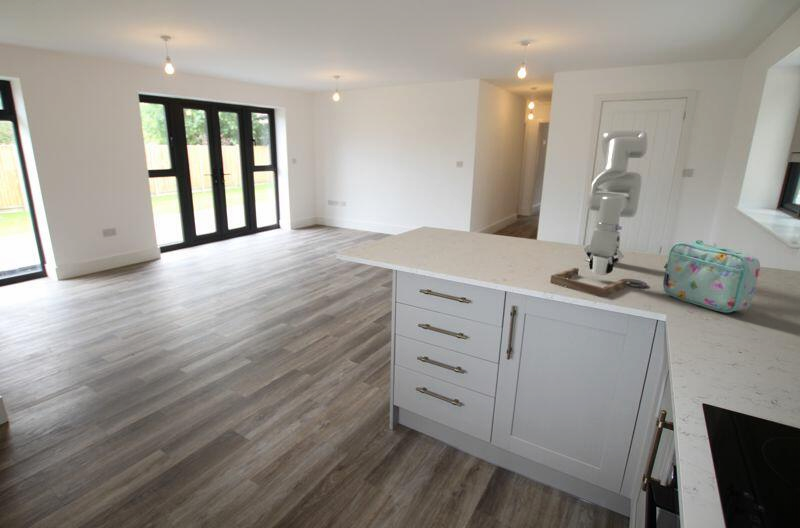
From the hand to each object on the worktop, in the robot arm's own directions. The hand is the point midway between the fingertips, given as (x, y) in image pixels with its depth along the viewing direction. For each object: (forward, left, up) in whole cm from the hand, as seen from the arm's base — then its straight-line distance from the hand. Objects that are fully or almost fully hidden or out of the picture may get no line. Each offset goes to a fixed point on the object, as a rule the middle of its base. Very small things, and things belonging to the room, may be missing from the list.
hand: (600, 270), depth 165 cm
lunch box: (-3, +34, -4) cm, 35 cm away
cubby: (+9, 0, -4) cm, 10 cm away
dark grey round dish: (-6, +11, -4) cm, 13 cm away
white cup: (0, 0, -1) cm, 1 cm away
